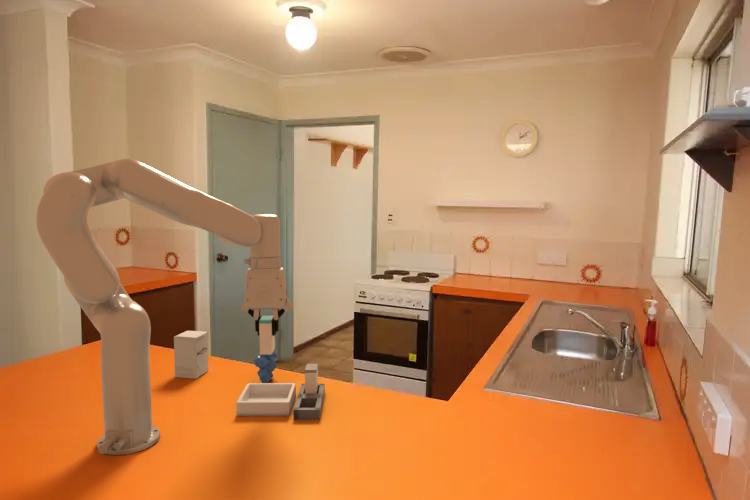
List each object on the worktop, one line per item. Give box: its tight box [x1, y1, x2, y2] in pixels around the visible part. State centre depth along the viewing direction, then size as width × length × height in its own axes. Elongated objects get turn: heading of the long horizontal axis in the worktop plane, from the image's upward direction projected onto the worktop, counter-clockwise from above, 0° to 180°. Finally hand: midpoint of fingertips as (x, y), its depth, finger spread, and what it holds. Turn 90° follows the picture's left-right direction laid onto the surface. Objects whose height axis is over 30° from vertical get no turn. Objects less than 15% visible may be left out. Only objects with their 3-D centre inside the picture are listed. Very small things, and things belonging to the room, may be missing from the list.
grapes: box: [252, 345, 278, 383], centre depth 151 cm, size 12×7×12 cm, turn 174°
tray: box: [235, 382, 297, 417], centre depth 135 cm, size 13×13×4 cm
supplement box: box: [173, 330, 210, 380], centre depth 157 cm, size 7×7×13 cm
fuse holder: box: [292, 383, 326, 421], centre depth 135 cm, size 17×6×2 cm, turn 2°
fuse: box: [304, 363, 319, 394], centre depth 139 cm, size 5×3×9 cm, turn 2°
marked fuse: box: [259, 315, 276, 356], centre depth 133 cm, size 5×3×9 cm, turn 2°
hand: (267, 333), depth 133 cm, fingers closed on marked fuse, 3 cm apart
